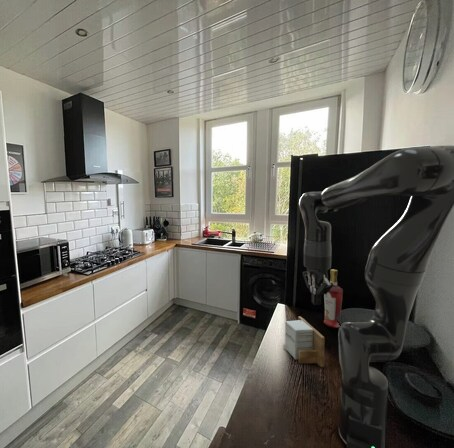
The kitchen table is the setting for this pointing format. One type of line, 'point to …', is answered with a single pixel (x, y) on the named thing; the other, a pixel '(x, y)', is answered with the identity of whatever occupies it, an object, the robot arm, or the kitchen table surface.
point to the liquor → (333, 302)
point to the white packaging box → (298, 337)
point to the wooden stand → (318, 348)
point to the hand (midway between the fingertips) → (316, 303)
